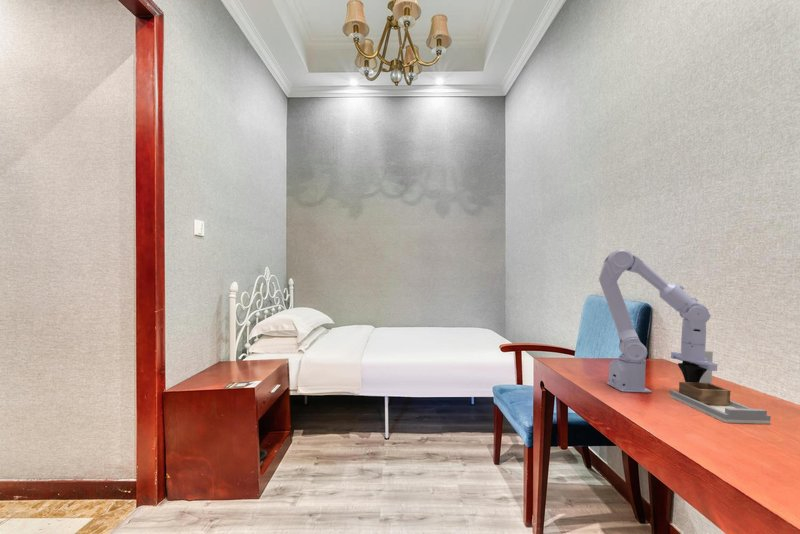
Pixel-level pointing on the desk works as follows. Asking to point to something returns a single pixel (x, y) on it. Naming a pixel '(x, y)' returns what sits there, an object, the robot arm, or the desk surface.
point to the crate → (705, 393)
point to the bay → (726, 410)
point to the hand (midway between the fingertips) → (691, 388)
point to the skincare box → (708, 374)
